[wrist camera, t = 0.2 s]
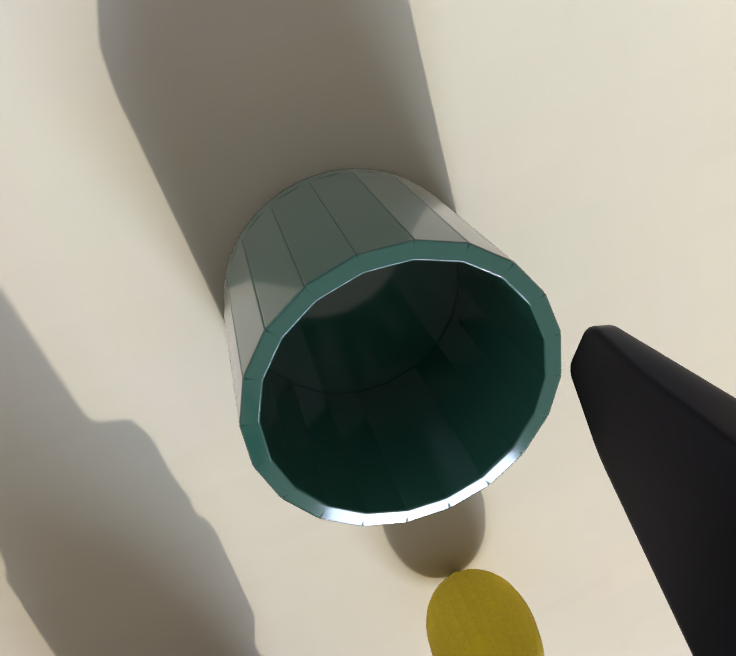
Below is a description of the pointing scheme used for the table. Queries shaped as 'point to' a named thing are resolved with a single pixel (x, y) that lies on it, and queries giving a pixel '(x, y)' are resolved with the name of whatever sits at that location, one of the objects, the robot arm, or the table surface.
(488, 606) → the lemon
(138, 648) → the table surface
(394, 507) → the cup
